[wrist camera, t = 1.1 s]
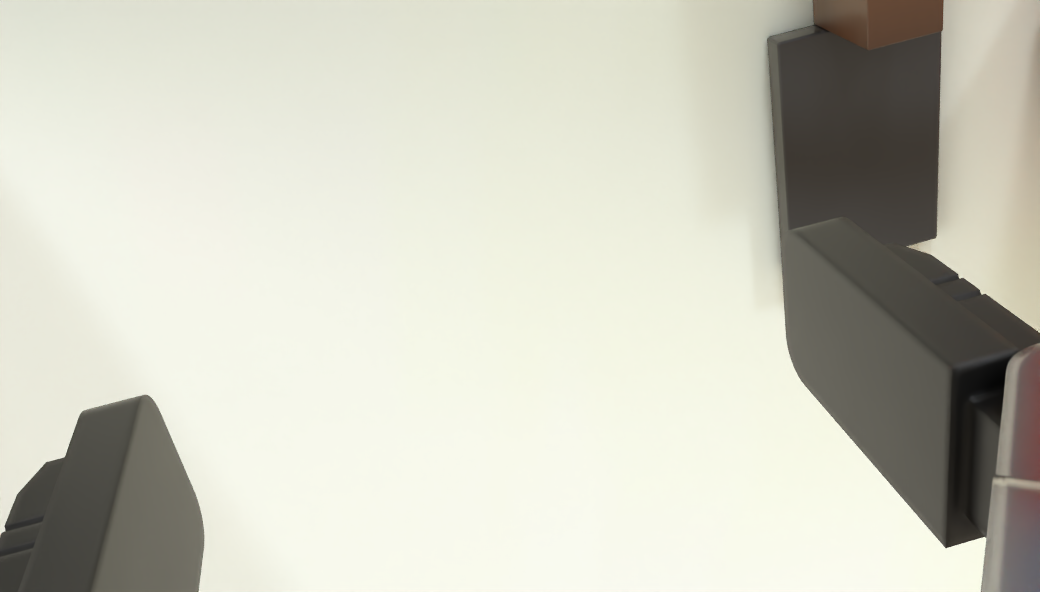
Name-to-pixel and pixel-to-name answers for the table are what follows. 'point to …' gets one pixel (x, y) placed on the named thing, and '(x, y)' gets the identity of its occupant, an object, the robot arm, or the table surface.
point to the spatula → (859, 117)
